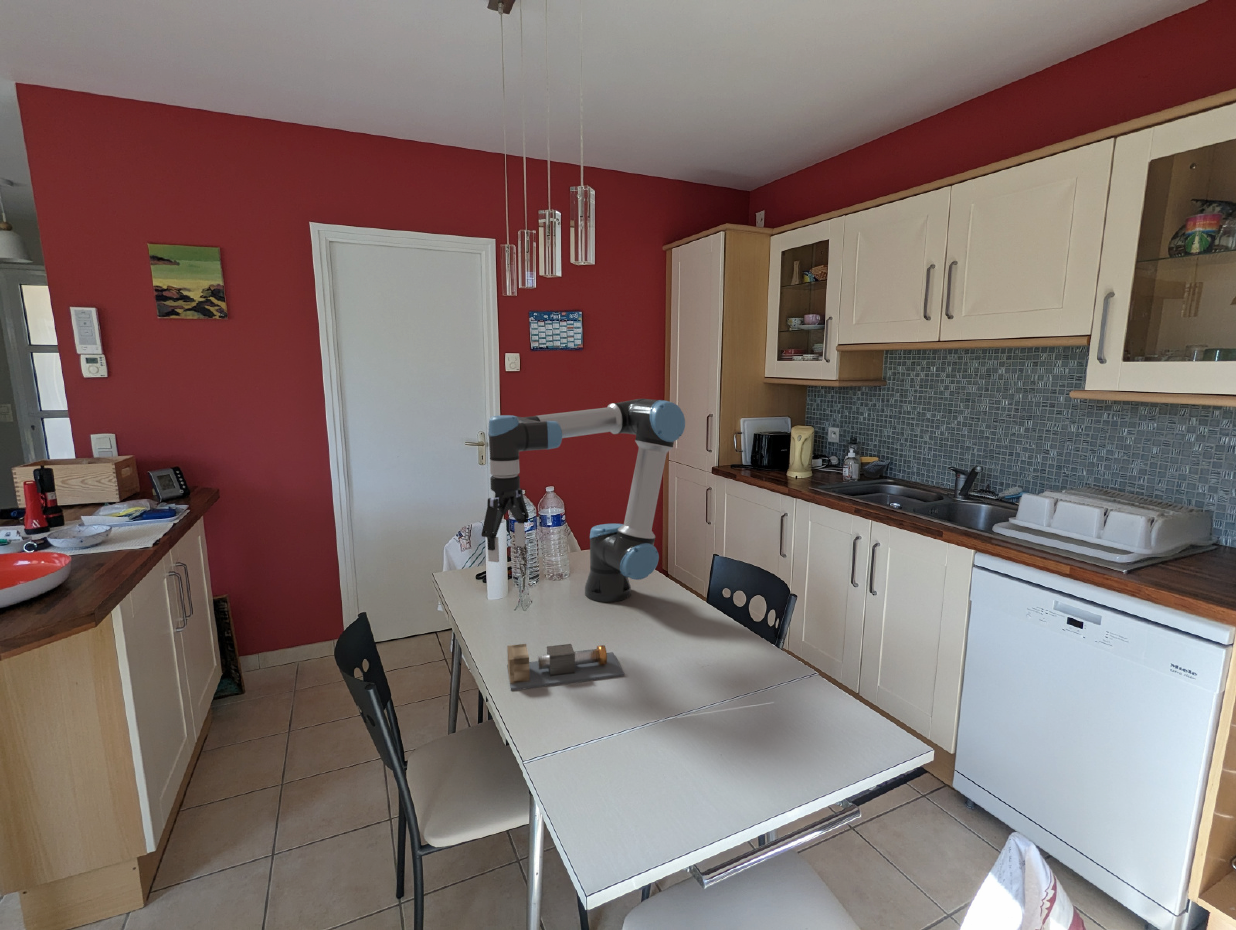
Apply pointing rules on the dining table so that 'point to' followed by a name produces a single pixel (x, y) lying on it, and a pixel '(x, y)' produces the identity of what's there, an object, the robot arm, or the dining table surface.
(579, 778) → the dining table surface
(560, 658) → the sleeve
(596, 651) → the sliding bolt
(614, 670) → the base mat
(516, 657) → the socket block
